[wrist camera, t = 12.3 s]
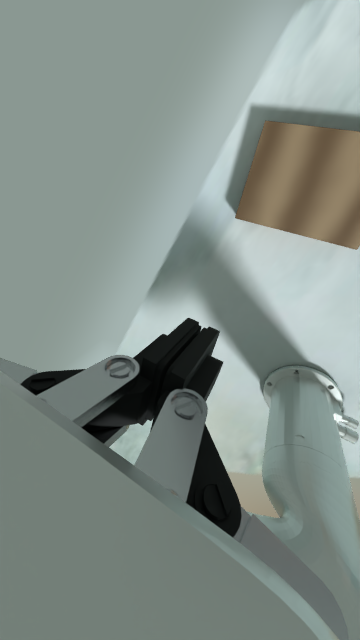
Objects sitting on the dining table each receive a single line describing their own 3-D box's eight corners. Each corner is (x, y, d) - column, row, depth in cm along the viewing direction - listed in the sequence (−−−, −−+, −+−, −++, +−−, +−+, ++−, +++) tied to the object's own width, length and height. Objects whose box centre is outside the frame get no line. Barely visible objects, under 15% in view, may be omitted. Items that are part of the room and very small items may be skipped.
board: (410, 148, 24) (423, 139, 22) (351, 247, 29) (357, 249, 27) (267, 129, 29) (265, 120, 26) (239, 218, 34) (234, 218, 32)
